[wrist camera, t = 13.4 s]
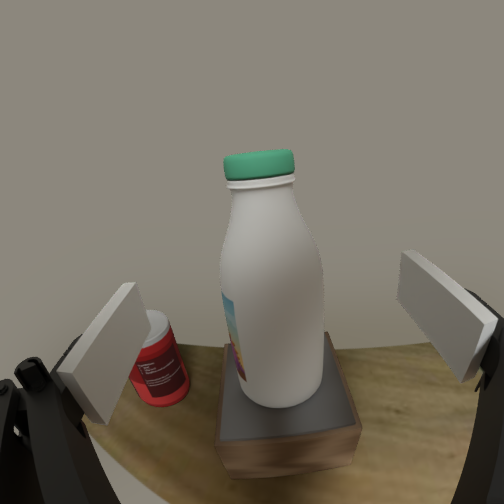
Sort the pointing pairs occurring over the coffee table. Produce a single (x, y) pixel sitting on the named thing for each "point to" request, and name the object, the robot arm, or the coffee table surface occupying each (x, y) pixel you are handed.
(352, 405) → the riser
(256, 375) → the milk bottle
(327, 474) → the coffee table surface
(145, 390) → the canned food
